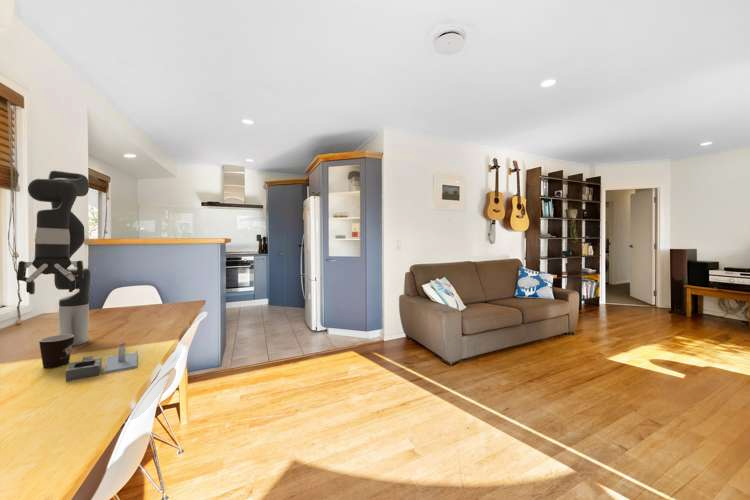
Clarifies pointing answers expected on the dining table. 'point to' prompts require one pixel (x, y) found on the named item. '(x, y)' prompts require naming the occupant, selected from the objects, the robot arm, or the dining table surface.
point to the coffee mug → (56, 350)
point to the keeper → (121, 361)
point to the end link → (84, 368)
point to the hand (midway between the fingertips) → (51, 292)
